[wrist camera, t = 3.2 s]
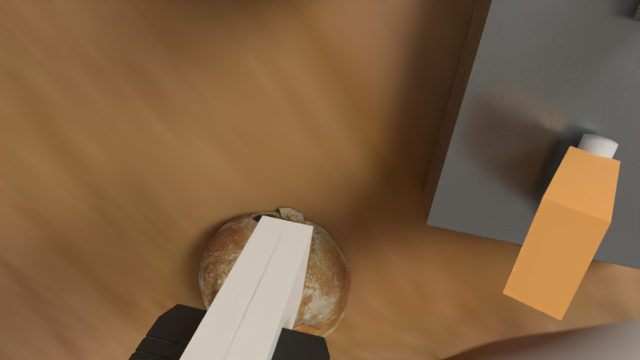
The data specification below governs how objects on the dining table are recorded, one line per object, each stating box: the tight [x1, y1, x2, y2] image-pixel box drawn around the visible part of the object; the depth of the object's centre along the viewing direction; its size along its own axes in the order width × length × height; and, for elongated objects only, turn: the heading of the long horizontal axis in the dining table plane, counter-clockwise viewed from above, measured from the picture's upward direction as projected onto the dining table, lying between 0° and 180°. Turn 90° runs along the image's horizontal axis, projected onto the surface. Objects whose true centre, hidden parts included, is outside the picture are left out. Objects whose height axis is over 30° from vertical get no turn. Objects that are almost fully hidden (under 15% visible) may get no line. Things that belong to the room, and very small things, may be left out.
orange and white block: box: [503, 134, 620, 320], centre depth 18 cm, size 2×5×8 cm, turn 171°
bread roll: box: [199, 208, 351, 338], centre depth 30 cm, size 10×10×8 cm
